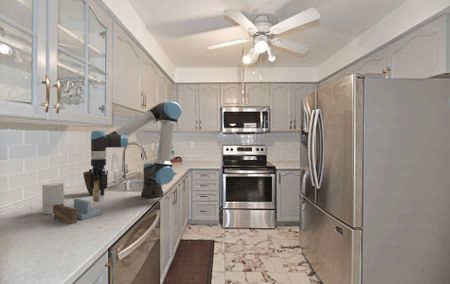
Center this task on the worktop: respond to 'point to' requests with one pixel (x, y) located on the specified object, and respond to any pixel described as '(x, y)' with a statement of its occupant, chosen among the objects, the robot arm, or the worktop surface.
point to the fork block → (84, 209)
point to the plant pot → (88, 182)
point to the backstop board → (65, 214)
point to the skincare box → (52, 196)
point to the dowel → (96, 191)
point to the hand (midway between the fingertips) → (98, 200)
